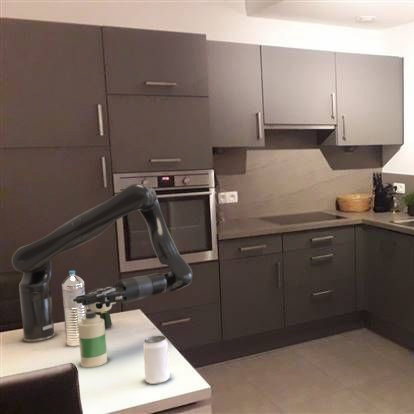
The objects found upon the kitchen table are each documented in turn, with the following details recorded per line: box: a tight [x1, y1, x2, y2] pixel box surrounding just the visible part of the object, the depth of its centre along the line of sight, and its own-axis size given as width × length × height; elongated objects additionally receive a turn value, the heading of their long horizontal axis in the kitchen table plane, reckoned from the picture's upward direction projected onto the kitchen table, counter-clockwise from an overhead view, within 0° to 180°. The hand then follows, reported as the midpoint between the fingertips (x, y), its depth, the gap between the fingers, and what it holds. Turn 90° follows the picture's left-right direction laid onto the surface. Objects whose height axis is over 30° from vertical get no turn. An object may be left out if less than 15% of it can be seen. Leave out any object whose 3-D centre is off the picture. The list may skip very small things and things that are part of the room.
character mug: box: [86, 302, 117, 328], centre depth 200 cm, size 11×7×13 cm, turn 134°
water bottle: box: [61, 270, 88, 347], centre depth 184 cm, size 7×7×25 cm
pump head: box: [73, 293, 95, 308], centre depth 165 cm, size 6×3×4 cm, turn 142°
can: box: [142, 335, 171, 385], centre depth 155 cm, size 6×6×12 cm
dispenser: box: [78, 310, 108, 368], centre depth 167 cm, size 7×7×16 cm
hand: (79, 301), depth 164 cm, fingers closed on pump head, 3 cm apart
